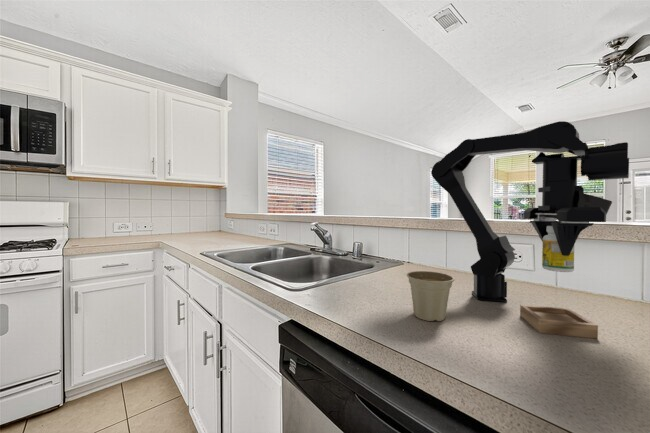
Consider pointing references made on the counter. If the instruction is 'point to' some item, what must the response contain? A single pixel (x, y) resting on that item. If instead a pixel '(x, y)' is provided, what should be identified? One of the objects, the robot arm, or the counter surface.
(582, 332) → the wooden tray
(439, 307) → the flower pot
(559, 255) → the supplement bottle
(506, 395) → the counter surface
